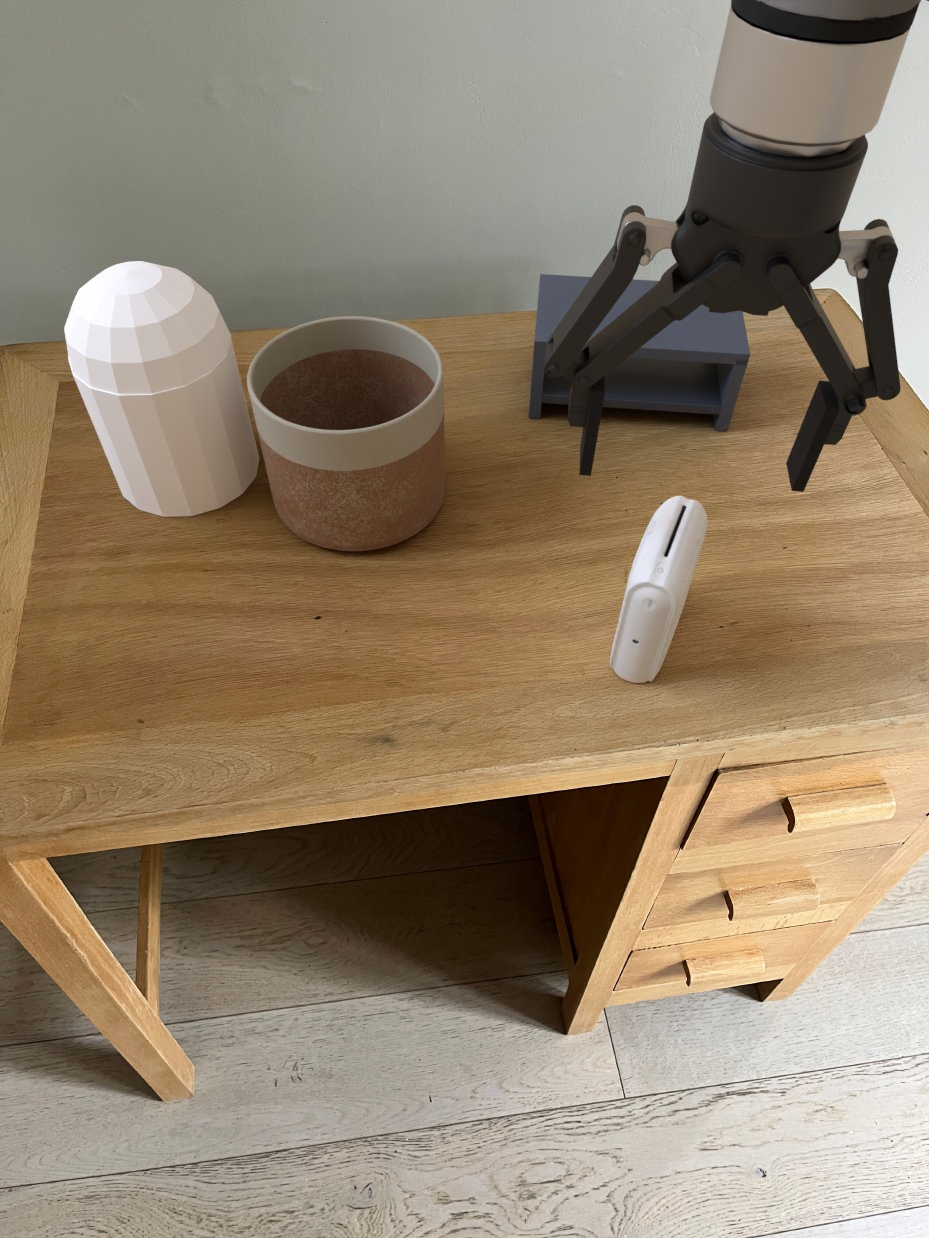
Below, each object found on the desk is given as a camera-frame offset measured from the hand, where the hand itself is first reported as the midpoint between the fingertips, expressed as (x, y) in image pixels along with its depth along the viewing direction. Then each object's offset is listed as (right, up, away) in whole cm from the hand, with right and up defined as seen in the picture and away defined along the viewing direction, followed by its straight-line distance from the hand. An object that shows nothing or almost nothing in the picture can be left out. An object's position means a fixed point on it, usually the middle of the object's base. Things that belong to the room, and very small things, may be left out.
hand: (689, 469), depth 56 cm
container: (-41, +5, +26) cm, 49 cm away
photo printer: (0, -11, +14) cm, 18 cm away
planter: (-24, +2, +24) cm, 34 cm away
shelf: (+2, +15, +34) cm, 37 cm away
